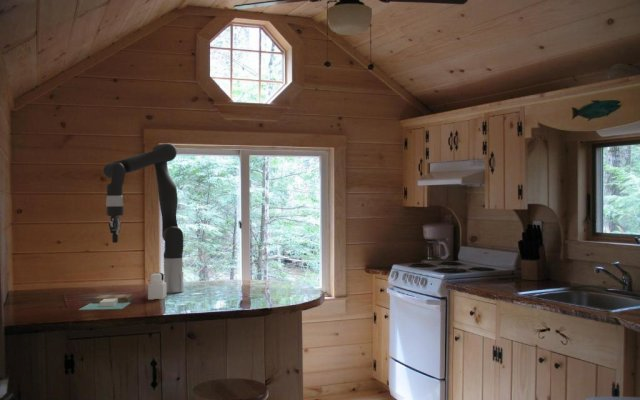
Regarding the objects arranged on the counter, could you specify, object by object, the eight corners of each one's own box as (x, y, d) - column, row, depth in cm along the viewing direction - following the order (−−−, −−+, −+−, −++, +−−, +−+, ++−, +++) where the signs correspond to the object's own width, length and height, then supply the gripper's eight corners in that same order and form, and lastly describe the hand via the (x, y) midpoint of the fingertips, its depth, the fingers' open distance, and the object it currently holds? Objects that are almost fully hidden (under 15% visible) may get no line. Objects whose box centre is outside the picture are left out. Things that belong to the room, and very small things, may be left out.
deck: (132, 299, 294) (132, 294, 294) (127, 303, 284) (127, 297, 284) (100, 300, 294) (100, 294, 294) (93, 303, 284) (93, 298, 284)
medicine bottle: (151, 297, 301) (151, 272, 301) (166, 297, 301) (166, 272, 301) (147, 299, 294) (147, 274, 294) (163, 299, 294) (162, 273, 294)
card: (104, 303, 283) (104, 298, 283) (118, 302, 284) (117, 298, 284) (99, 306, 274) (99, 301, 274) (113, 306, 275) (113, 301, 275)
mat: (130, 303, 284) (130, 302, 284) (121, 309, 268) (121, 308, 268) (90, 304, 283) (90, 303, 283) (78, 310, 267) (78, 309, 267)
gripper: (119, 205, 287) (119, 243, 287) (126, 205, 300) (126, 241, 300) (102, 205, 286) (103, 243, 286) (110, 205, 299) (110, 241, 299)
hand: (115, 242), depth 293 cm, fingers closed
